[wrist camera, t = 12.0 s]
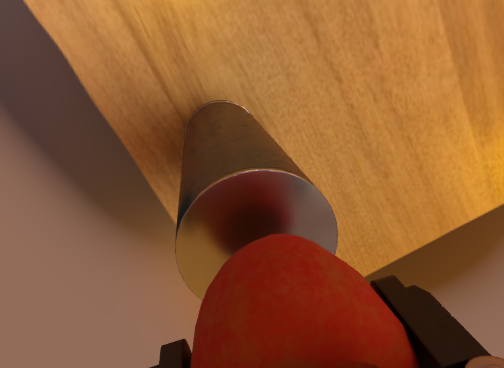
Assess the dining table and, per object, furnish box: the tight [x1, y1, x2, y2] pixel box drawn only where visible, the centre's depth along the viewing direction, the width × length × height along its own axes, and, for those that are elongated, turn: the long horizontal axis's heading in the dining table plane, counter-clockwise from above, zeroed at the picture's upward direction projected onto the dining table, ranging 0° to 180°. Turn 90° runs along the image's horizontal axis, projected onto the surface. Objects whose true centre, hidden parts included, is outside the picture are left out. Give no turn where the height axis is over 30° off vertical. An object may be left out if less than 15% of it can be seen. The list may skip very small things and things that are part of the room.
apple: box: [190, 234, 420, 368], centre depth 12 cm, size 6×6×8 cm
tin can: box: [175, 100, 338, 301], centre depth 27 cm, size 8×8×22 cm
